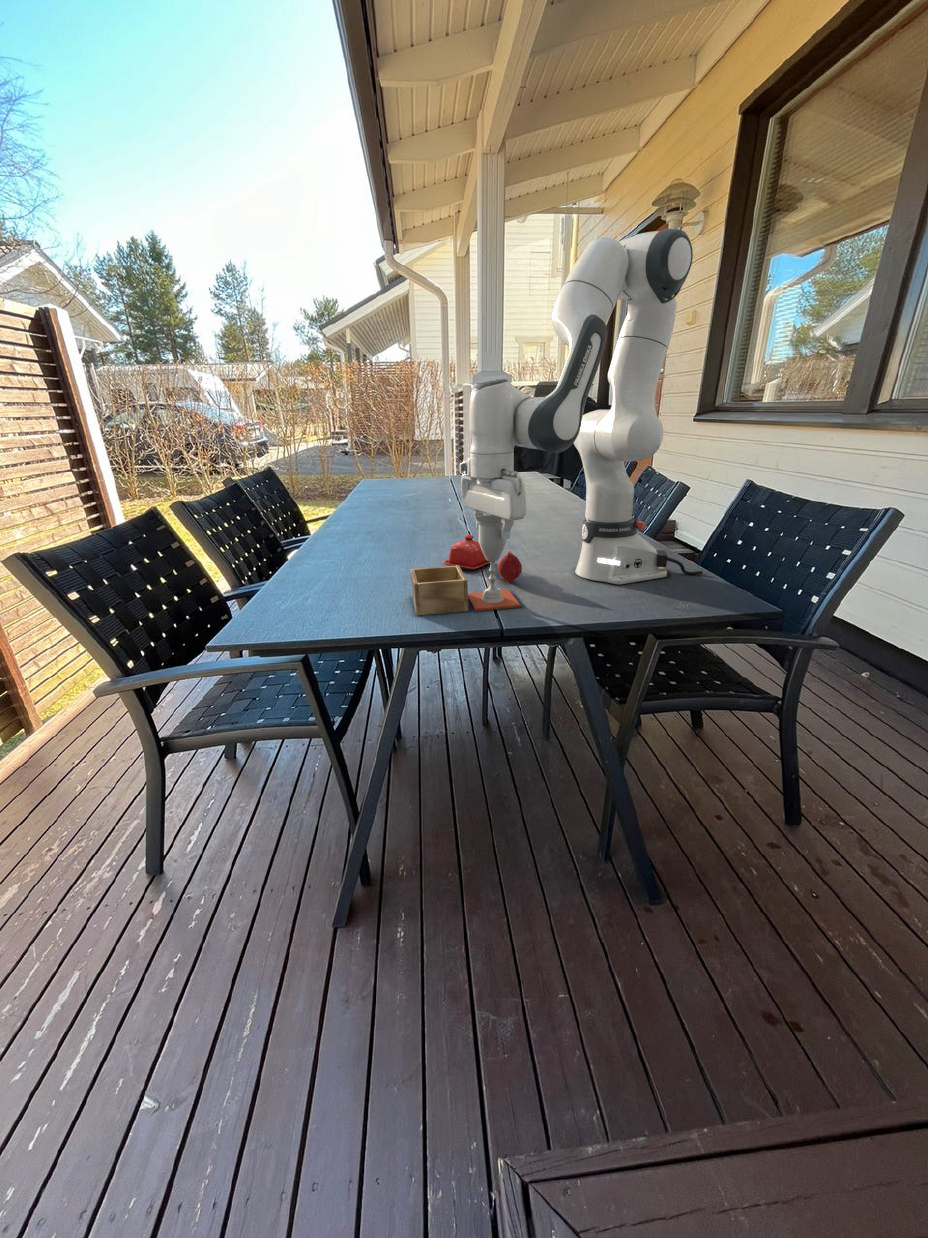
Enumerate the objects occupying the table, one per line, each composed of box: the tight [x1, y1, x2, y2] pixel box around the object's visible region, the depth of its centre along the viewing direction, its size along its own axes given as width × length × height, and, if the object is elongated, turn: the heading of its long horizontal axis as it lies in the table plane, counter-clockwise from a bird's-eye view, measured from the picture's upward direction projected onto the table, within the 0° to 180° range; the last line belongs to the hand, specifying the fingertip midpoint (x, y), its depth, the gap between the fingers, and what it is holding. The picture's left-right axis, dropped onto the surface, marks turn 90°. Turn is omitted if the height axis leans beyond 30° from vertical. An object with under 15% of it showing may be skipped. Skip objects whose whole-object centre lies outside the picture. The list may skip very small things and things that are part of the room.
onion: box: [497, 550, 523, 584], centre depth 128 cm, size 6×6×8 cm
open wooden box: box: [410, 565, 469, 616], centre depth 115 cm, size 11×11×7 cm
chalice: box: [476, 514, 507, 603], centre depth 114 cm, size 7×7×18 cm
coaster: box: [468, 589, 521, 612], centre depth 117 cm, size 10×10×1 cm
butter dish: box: [441, 534, 490, 571], centre depth 142 cm, size 12×12×8 cm
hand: (492, 534), depth 112 cm, fingers open, 8 cm apart
